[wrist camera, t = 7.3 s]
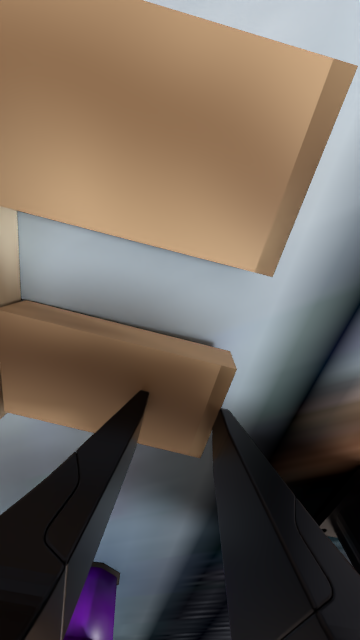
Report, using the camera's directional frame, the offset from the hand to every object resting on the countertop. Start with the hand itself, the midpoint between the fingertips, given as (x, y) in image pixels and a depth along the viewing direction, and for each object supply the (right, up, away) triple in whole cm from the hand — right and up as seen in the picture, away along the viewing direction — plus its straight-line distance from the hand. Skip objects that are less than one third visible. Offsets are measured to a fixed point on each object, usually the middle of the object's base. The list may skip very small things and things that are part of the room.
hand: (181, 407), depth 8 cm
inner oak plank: (-3, +1, +1) cm, 3 cm away
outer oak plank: (-1, +9, -2) cm, 9 cm away
